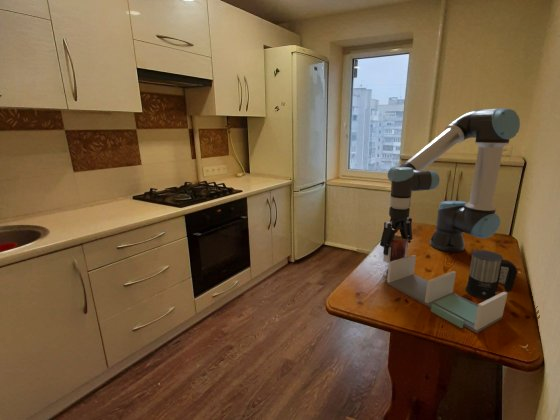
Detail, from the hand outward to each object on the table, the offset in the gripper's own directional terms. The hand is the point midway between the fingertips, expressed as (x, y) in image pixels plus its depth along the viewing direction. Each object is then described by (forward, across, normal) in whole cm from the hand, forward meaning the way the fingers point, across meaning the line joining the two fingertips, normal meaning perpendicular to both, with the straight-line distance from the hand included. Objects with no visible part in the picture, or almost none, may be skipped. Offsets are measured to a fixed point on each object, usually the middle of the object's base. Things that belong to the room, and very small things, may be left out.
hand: (394, 259), depth 127 cm
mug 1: (+1, +1, +1) cm, 2 cm away
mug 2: (+6, -31, +27) cm, 41 cm away
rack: (+4, +6, +24) cm, 25 cm away
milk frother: (+5, -16, +27) cm, 32 cm away
